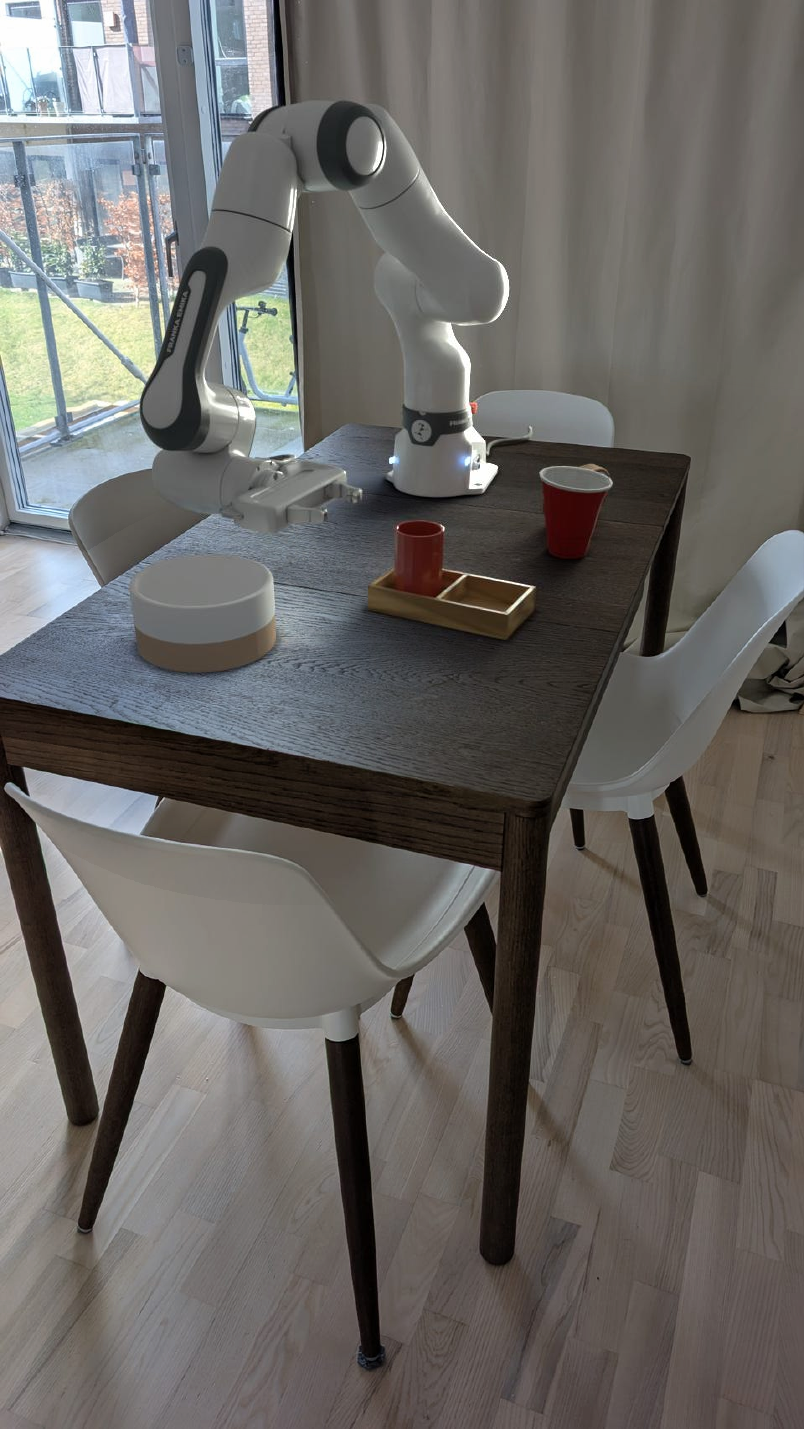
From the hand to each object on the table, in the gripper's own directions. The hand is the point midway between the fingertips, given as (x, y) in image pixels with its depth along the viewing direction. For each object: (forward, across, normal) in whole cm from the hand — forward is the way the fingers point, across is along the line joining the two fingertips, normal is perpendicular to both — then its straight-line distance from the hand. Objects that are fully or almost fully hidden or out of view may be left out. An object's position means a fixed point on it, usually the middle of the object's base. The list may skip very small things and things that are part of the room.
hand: (342, 506), depth 139 cm
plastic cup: (+23, +28, +12) cm, 38 cm away
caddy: (+16, 0, +12) cm, 20 cm away
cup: (+12, 0, +11) cm, 16 cm away
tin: (+19, +43, +12) cm, 49 cm away
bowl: (-7, -23, +12) cm, 27 cm away
